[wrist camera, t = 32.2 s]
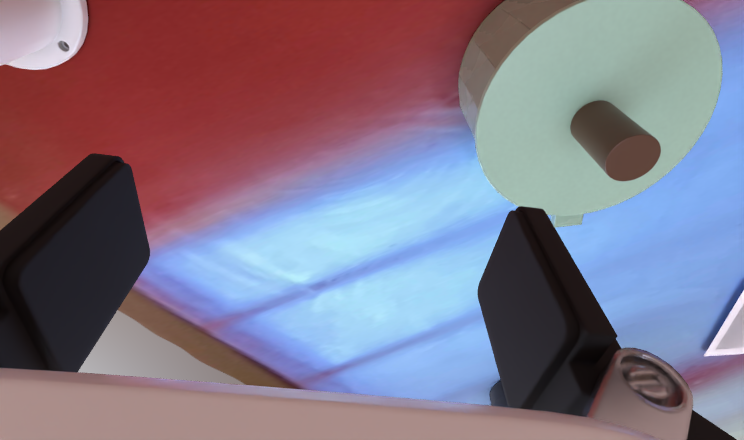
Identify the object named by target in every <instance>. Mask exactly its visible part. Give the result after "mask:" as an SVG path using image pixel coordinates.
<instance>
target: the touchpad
mask: <svg viewBox="0 0 744 440" xmlns="http://www.w3.org/2000/svg"><path fill="white" fill-rule="evenodd" d="M732 354H744V290H743V292H742V294H741V295H740V297H739V299H738V300H737V302H736V304H735V305H734V307H733V309H732V310H731V312H730V313H729V315H728V317H727V318H726V320H725V322H724V323H723V325H722V327H721V328H720V330H719V332H718V333H717V335H716V337H715V338H714V340H713V342H712V343H711V345H710V346H709V348H708V350H707V351H706V353H705V355H704V356H715V355H732Z"/></svg>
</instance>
